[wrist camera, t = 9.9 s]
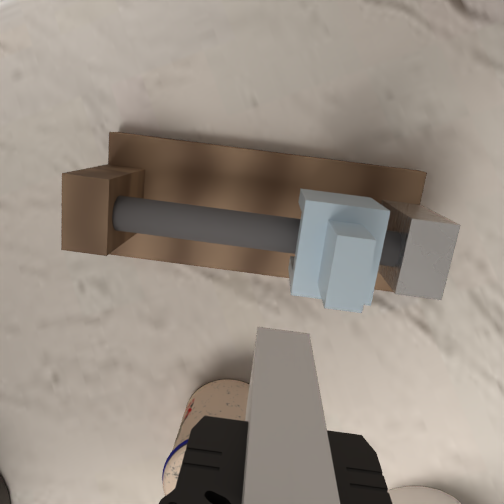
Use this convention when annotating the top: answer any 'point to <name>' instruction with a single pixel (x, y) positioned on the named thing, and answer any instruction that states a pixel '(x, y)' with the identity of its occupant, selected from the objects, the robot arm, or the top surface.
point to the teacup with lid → (202, 404)
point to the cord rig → (243, 210)
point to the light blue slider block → (338, 249)
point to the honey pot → (420, 496)
